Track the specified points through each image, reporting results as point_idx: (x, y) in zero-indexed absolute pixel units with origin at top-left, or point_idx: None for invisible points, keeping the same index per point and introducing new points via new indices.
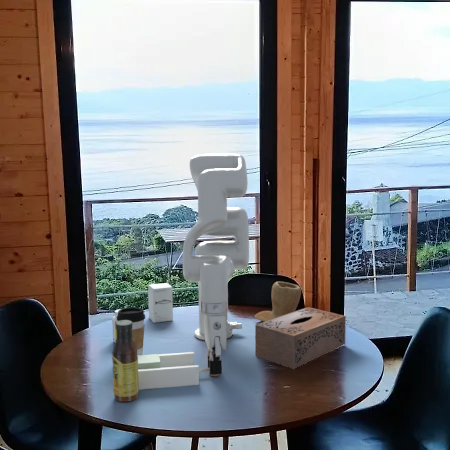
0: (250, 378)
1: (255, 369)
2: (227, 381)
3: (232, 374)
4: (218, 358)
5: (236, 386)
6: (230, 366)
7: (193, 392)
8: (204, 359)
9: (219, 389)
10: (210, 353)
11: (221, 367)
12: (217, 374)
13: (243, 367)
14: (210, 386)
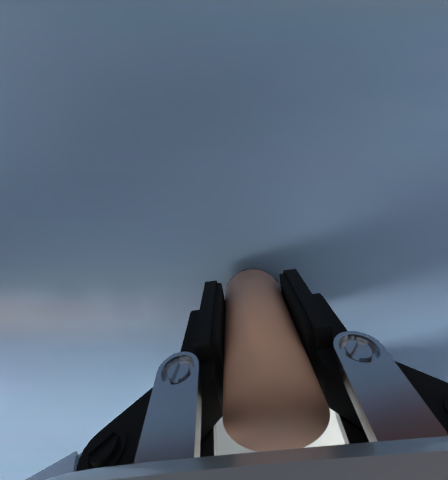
0: (323, 74)
1: (161, 21)
2: (342, 228)
3: (246, 198)
4: (432, 388)
5: (425, 177)
6: (126, 207)
7: (428, 368)
8: (51, 334)
9: (434, 268)
10: (280, 446)
11: (306, 288)
12: (276, 284)
13: (132, 121)
14: (385, 307)
